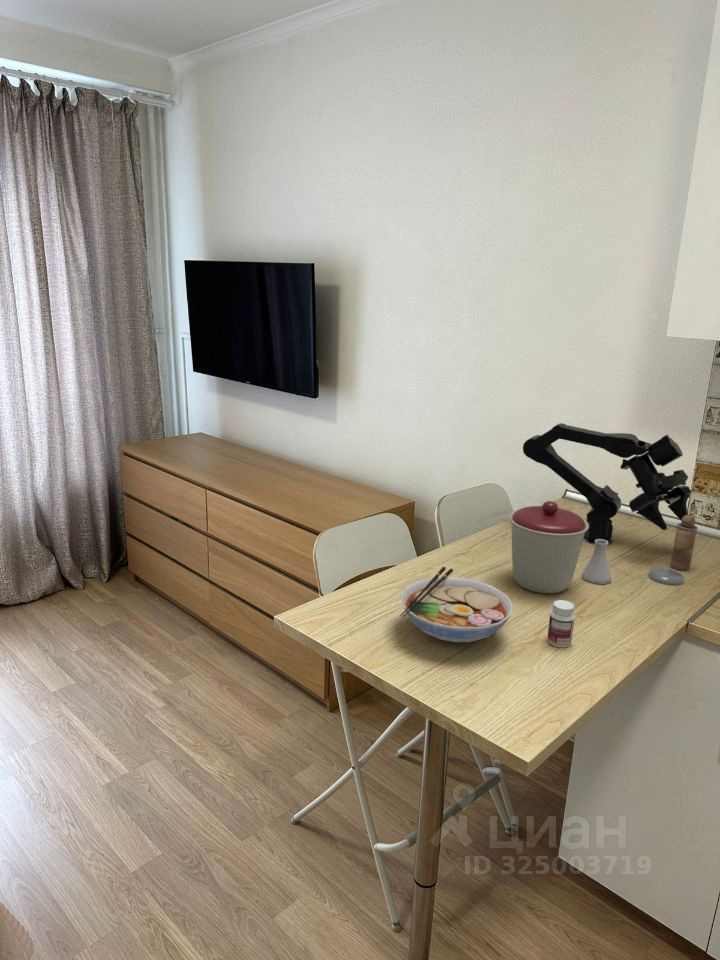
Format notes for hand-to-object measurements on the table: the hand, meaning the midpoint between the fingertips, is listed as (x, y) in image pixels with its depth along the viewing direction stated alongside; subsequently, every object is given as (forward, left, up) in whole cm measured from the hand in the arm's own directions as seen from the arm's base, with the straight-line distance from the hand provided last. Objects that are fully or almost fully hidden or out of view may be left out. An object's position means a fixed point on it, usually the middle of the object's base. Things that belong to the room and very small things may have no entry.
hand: (676, 526), depth 173 cm
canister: (-39, -15, -10) cm, 43 cm away
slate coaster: (-6, -10, -10) cm, 15 cm away
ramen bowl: (-64, -39, -10) cm, 75 cm away
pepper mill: (+1, -3, -10) cm, 11 cm away
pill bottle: (-43, -42, -10) cm, 61 cm away
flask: (-24, -11, -10) cm, 28 cm away
